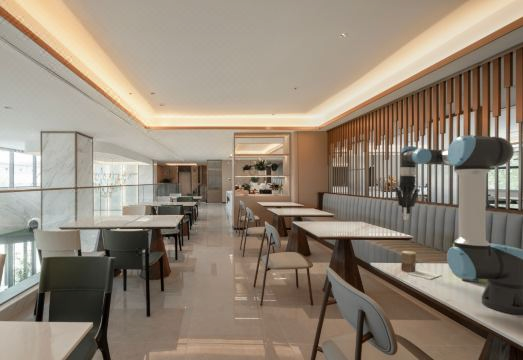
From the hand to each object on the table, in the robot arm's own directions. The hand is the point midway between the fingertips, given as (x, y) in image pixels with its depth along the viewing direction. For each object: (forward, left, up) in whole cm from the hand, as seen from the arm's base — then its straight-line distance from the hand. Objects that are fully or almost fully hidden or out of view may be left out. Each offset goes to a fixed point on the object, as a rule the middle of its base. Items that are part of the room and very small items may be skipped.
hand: (405, 219), depth 175 cm
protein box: (+13, -26, -27) cm, 40 cm away
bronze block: (-2, -3, -27) cm, 27 cm away
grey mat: (-2, -12, -27) cm, 29 cm away
